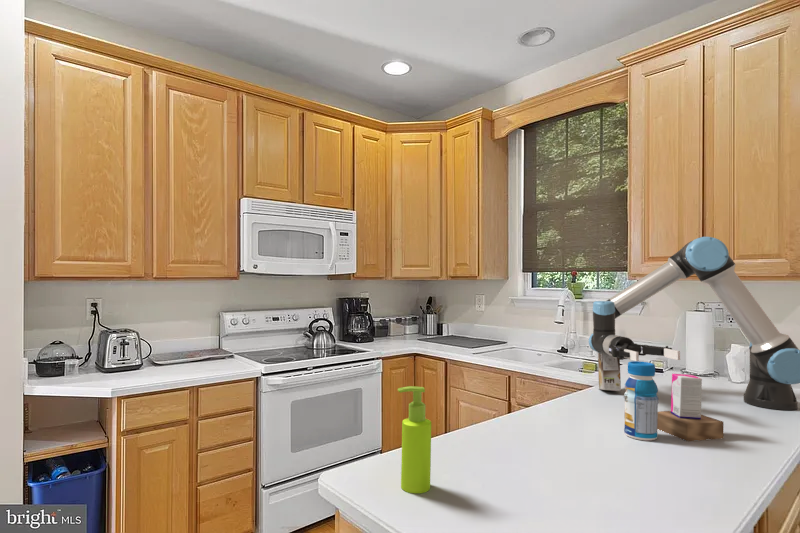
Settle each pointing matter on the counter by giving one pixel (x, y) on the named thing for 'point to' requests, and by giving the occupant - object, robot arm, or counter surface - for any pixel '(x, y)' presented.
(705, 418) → the oak riser block
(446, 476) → the counter surface
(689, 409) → the supplement box
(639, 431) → the beverage bottle
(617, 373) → the coffee box
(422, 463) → the soap dispenser
